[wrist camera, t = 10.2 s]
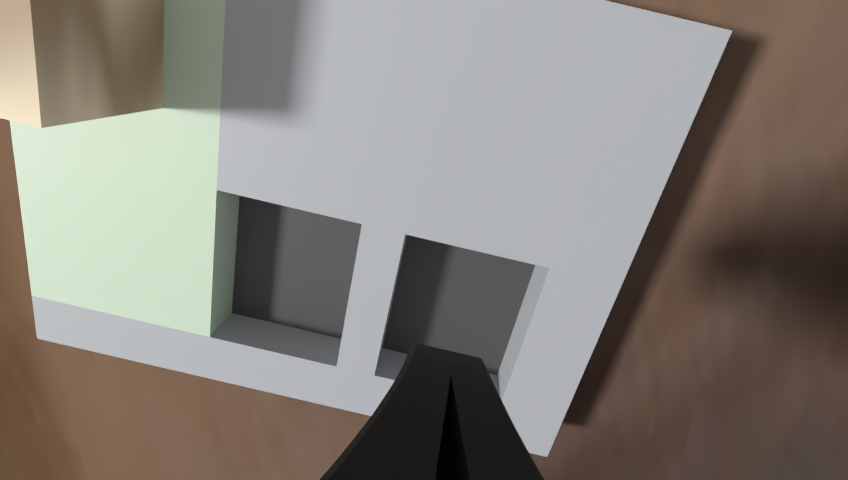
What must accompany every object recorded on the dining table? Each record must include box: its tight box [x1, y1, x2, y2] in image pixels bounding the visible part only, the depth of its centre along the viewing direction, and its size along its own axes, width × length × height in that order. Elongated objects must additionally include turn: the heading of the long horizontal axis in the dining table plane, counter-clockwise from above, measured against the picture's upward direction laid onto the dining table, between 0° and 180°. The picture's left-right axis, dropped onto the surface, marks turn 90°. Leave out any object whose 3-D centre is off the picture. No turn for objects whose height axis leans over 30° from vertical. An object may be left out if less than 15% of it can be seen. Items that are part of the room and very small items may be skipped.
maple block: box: [0, 0, 164, 128], centre depth 12 cm, size 4×4×4 cm
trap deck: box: [10, 0, 732, 457], centre depth 16 cm, size 16×21×2 cm
